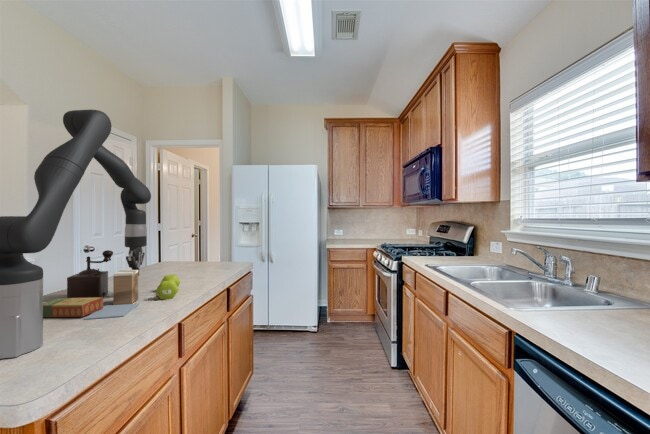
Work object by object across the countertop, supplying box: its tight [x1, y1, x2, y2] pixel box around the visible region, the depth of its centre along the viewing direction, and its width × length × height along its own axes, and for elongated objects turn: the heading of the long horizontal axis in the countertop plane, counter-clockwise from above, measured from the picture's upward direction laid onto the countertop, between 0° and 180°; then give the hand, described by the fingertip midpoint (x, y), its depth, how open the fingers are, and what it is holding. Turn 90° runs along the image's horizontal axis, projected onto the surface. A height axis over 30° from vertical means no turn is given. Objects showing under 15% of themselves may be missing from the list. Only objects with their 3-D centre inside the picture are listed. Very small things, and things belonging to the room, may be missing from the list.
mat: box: [83, 303, 139, 321], centre depth 96 cm, size 13×11×1 cm
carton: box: [43, 296, 104, 318], centre depth 94 cm, size 8×16×4 cm, turn 88°
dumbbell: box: [155, 274, 181, 300], centre depth 117 cm, size 16×8×7 cm, turn 24°
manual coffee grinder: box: [66, 249, 114, 298], centre depth 116 cm, size 16×11×18 cm
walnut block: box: [112, 269, 139, 305], centre depth 106 cm, size 6×6×12 cm
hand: (135, 276), depth 114 cm, fingers closed
